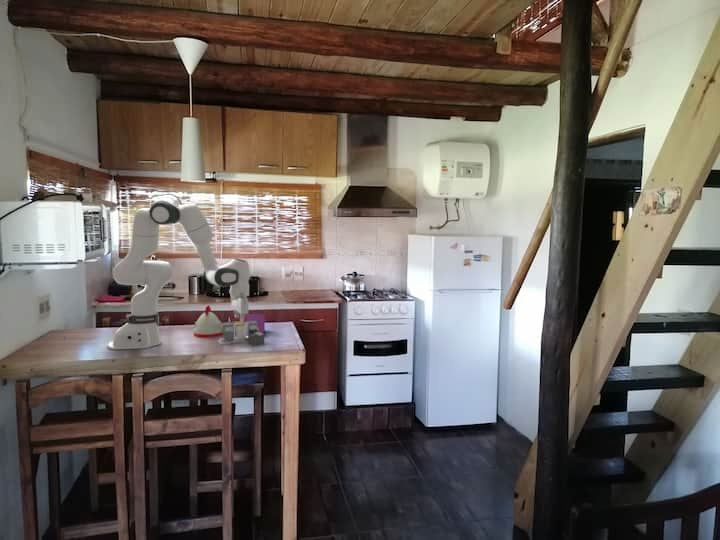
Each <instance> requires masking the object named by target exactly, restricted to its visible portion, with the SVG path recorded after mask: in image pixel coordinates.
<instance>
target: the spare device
mask: <svg viewBox="0 0 720 540" xmlns="http://www.w3.org/2000/svg"><path fill="white" fill-rule="evenodd" d="M247 344H249V346H252V347H256V346H264V345H265V333H264V334H262V333H260V332H254V333H251V334H248V342H247Z"/></svg>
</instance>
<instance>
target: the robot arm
mask: <svg viewBox="0 0 720 540" xmlns="http://www.w3.org/2000/svg"><path fill="white" fill-rule="evenodd" d="M174 224H179V225H181V228H182V229H183V231H184V233H185V235H186V237H187V239H188V240H189V241H190V243H191V245H192V246H193V248H194V249H195V250H196V252H197V253H196V254H197V256H198V257H199V260H200V261H201V264H202V266H203V270H204V277H205V280H206V281H207V282H208V284H211V285H215V286H218V287H222V288H224V287H230V289H229V291H228V292H229V294H230V306H231V308H232V309H233V310H234V317H235V319H239V322H244V323H245V318H246V315H247V314H249V311H250V310H249V309H250V307H249V299H248V297H249V296H250V283H249V279H250V266H249V263H248V261H247V260H245V259H240V258H233V259H232V260H229V262H228V263H225V264H223V265H221V264H220V263H218V262H217V259H216V258H215V256H214V253H213V251H212V249H211V246H210V245H211V244H210V243H211V241H213V236H214V234H213V232H212V228H211V226H210V224H209V222H208V220H207V218H206V216H205V215H204V213H203V211H202V210H201V209H200V208H199V206H198V205H196V204H194V203H186V204H182V202H181V200H180V198H179V197H178V196H176V195H175V194H172V193H166V194H163V195H161V196H160V197H157V199H156V200H155V201H154V202H153V203H152V204H151V205H150V208H148V207H143V208H139V209H138V210H136V211H135V213H134V217H133V219H132V226H131V228H132V229H131V240H130V241H131V242H130V248H129V251H128V253H127V254H126V256H125V257H124V258H123V259H122V260H121V261H119V262H117V263H116V264H115V265H114V267H113V268H112V277H113V279H114V281H115V282H116V283H117V284H118V285H125V286H137V285H138V286H139V285H140V286H142V285H145V286H144V288H143V289H142V290H141V291H139V292H137V293H135V294H134V295H133V296H132V297H131V301H130V302H131V304H130V305H131V307H130V310H131V312H130V313H131V314H129V313H127V314H126V315H125V319H126V323H125V324H124V325H122V326H121V327H120V328H118V329H117V330H116V331H115V333H114V334H113V340H112V341H110V342H108V345H107V347H108V349H110V350H132V349H133V350H134V349H135V350H137V349H149V348H151V347H155V346H158V345H160V344H162V340H161V335H160V331H159V324H160V322H159V321H160V320H159V319H160V315H159V313H158V302H159V296H160V293H161V291H162V289H163V288H164V286H166V285H167V284H168V283H169V282H170V281H171V280H172V279H173V276H174V268H173V266H172V264H171V263H170V262H169V261H163V260H146V258H148V257H149V256H152V255H154V254H155V253H156V252H157V251H158V250H159V238H160V237H159V236H160V235H159V233H160V225H174Z"/></svg>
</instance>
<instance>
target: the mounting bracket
mask: <svg viewBox="0 0 720 540" xmlns="http://www.w3.org/2000/svg"><path fill="white" fill-rule="evenodd" d="M265 316H266V315H265V313H248V314H246V315H245V318H246V319H245V322H246V321H256V322H257V323H258V332H260V333H262V334H264V335H265V331H266V330H265V326H266V325H265V323H266V322H265V321H266V320H265ZM245 331H246V328H245Z"/></svg>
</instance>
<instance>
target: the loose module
mask: <svg viewBox="0 0 720 540" xmlns="http://www.w3.org/2000/svg"><path fill="white" fill-rule="evenodd" d="M233 324H234V337H235V338H236V339H243V338H245V336H246V330H245V329H246V322H245V321H244V322H240V321H239V322H238V321H236V322H233Z"/></svg>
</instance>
